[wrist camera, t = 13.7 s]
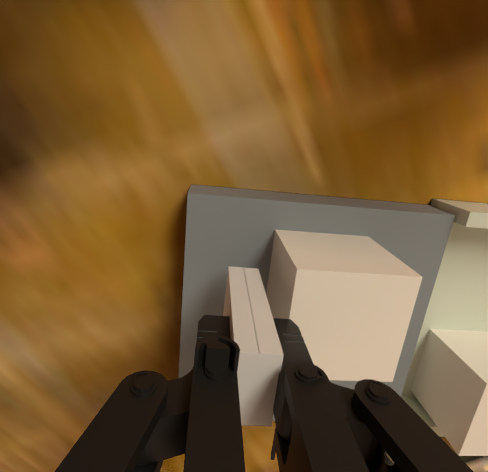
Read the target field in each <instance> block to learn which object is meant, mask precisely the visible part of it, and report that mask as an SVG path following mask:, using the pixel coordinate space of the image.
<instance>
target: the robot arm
mask: <svg viewBox="0 0 488 472" xmlns="http://www.w3.org/2000/svg"><path fill="white" fill-rule="evenodd" d="M273 414H274V418H275V423H276V429H275V434H274V440H273V445H272V451H271V460H274V459H275V453H276V454H277V459H278V465H279V471H280V472H473V471H472V470H471V469H470V468H469V467H468V466H467V465H466V464H465V463H464V462H463V461H462V460H461V458H460V457H459V456H458V455H457V454H456V453H455V452H454V451H453V450H452V449H451V448H450V447H449V446H448V445H447V444H446V443H445V442H444V441H443V440H442V439H441V438H440V437H439V436H438V435H437V434H436V433H435V432H434V431H433V430H432V429H431V428H430V427H429V426H428V425H427V424H426V422H425V421H424V420H423V419H422V418H421V417H420V416H419V415H418V414H417V413H416V412H415V411H414V410H413V409H412V408H411V407H410V406H409V405H408V404H407V403H406V402H405V401H404V400H403V399H402V398H401V397H400V396H399V395H398V394H397V393H396V392H395V391H394V390H393V389H392V388H390V387H389V386H388V385H386V384H384V383H382V382H379V381H376V380H372V379H363V380H360V381H358V382H357V384H356V385H355V387H354V389H350V388H347V387H343V386H339V385H337V384H334V383H332V382H330V381H329V379H328V376H327V375H326V374H325V372H324V371H323V370H322V369H320V368H319V367H318V366H316V365H314V364H313V362H312V359H311V357H310V354H309V352H308V349H307V347H306V344H305V343H304V339H303V337H302V334H301V332H300V330H299V327H298V326H297V325H296V324H295V323H294V322H293V321H292V320H291V319H280V318H273V316H272V313H271V310H270V306H269V303H268V299H267V296H266V292H265V289H264V286H263V282H262V279H261V275H260V272H259V269H257V268H244V267H231V266H228V274H227V283H226V293H225V302H224V311H223V316H217V315H204V316H203V317H202V318H201V319H200V320H199V321H198V331H197V341H196V347H195V356H194V366H193V368H192V369H191V371H190V372H189V373H188V374H186V375H185V376H183V377H181V378H178V379H174V380H170V381H167V380H166V378H165V377H163V376H162V375H161V374H159V373H157V372H154V371H140V372H135V373H133V374H131V375H129V376H127V377H126V378H125V379H124V380H123V381H122V382H121V383H120V384H119V386H118V387H117V388H116V390H115V391H114V392H113V394H112V395H111V396H110V398H109V399H108V400H107V402H106V403H105V404H104V406H103V407H102V408H101V410H100V411H99V413H98V414H97V415H96V417H95V418H94V419H93V421H92V422H91V423H90V425H89V426H88V427H87V429H86V430H85V431H84V433H83V434H82V436H81V437H80V438H79V440H78V441H77V442H76V444H75V445H74V446H73V448H72V449H71V450H70V452H69V453H68V454H67V456H66V457H65V458H64V460H63V461H62V463H61V464H60V465H59V467H58V468H57V469H56V471H55V472H159V471H160V469H161V467H162V464H163V460H165V459H168V458H172V457H175V456H178V455H182V454H185V461H184V472H245V462H244V450H243V438H242V426H241V425H247V426H271V425H272V419H273ZM386 453H388V455H389V456H390V457H391V458H392V460H393V461H394V462H395V463H392V462H391V461H390V460H389V458H388V457H387V456H386Z"/></svg>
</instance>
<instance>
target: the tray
mask: <svg viewBox="0 0 488 472" xmlns="http://www.w3.org/2000/svg"><path fill="white" fill-rule="evenodd" d="M430 206H432V207H434V208H437V209H440V210H442V211H445V212H447V213H450V214H453V215H455V218H454V221H453V225H452V228H451V231H450V235H449V238H448V241H447V245H446V248H445V251H444V255H443V258H442V261H441V265H440V268H439V271H438V275H437V278H436V281H435V285H434V288H433V291H432V295H431V298H430V301H429V305H428V308H427V311H426V314H425V318H424V321H423V324H422V328H421V331H420V334H419V338H418V341H417V344H416V348H415V351H414V354H413V358H412V361H411V364H410V368H409V371H408V374H407V378H406V381H405V384H404V388H403V391H402V394H401V398H402V399H403V400H404V401H405V402H406V403H407V404H408V405H409V406H410V407H411V408H412V409H413V410H414V411H415V412H416V413H417V414H418V415H419V416H420V417H421V418H422V419H423V420H424V421H425V422H426V424H427V425H428V426H429V427H430V428H431V429H432V430H433V431H434V432H435V433H436V434H437V435H438V436H439V437H445V436H444V435H443V433H442V432H441V431H440V429H439V428H438V427H437V425H436V424H435V422H434V421H433V420H432V418H431V417H430V416H429V414H428V413H427V412H426V410H425V409H424V407H423V406H422V405H421V403H420V402H419V401H418V399H417V398H416V396H415V395H414V394H413V392H412V391H411V388H412V385H413V381H414V378H415V375H416V372H417V368H418V365H419V362H420V359H421V356H422V352H423V349H424V346H425V343H426V339H427V336H428V333H429V330H430V329H445V330H467V331H488V203H477V202H466V201H455V200H444V199H432V202H431V205H430Z"/></svg>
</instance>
